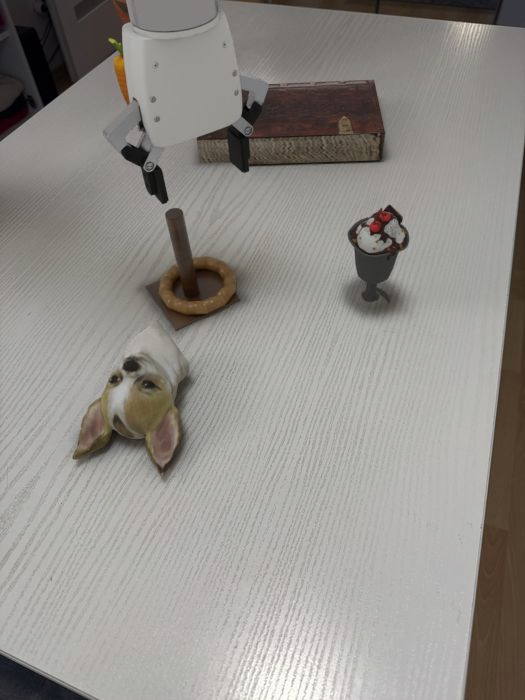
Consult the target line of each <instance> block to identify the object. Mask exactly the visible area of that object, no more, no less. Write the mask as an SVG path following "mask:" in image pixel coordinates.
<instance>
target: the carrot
mask: <svg viewBox="0 0 525 700" xmlns="http://www.w3.org/2000/svg"><path fill="white" fill-rule="evenodd" d="M108 42H109V43H110V44H111V45H113V47H114V48H115V49H116V51H117V52H118V53H119V55H117V56H115V57H114V59H113V69H114V72H115V76H116V80H117V82H118V86H119V88H120V92H121V94H122V96H123V99H124V101H125V103H126V106H128V105H129V104H130V101H129V95H128V88H127V82H126V74H125V66H124V57H123V44H122V42H119V43H118V41H117V40H116V39H115V38H114V39H113V38H111V37H109V38H108Z"/></svg>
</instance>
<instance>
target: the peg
mask: <svg viewBox="0 0 525 700" xmlns="http://www.w3.org/2000/svg"><path fill="white" fill-rule="evenodd" d="M164 217H165V221H166V225H167V229H168V233H169V237H170V238H169V239H170V242H171V246H172V251H173V254H174V258H175V264H176V263H177V267H178V271H179V277H178V279H177V280H176V281H175V282H174V283H173V288H172V291H173V293H174V294H175V296H176V297H177V298H180V299H183V300H185V301H203V300H206V299H208V298H210V297H212V296H214V295H216V294H217V293H218V292H219V291H220V289H221V288H222V287H223V278H222V277H221V276H220V275H219V273H217V272H214V271H211V270H208V269H201V270H195V266H194V262H193V257H194V256H193V252H192V247H191V242H190V238H189V234H188V229H187V228H188V227H187V224H186V219H185V214H184V210H183V209H181V208H179V207H173V208H170V209H168V210H166V212H165V213H164ZM160 280H161V279H159V280H157V281H155V282H152V283H150V284H148V285H145V290H146V291H147V293H148V294H149V296H150V297H151V298H152V300H153V302H154V303H155V304H156V306H157V307H158V308H159V310H160V311H161V313H162V314H163V316H164V317H165V319H166V320H167V322H168V323H169V324H170V326H171V327H172V329H173V330H174V331H175V332H178V331H179V330H182V329H184V328H186V327H188V326H191V325H192V324H195V323H196V322H199V321H200V320H203V319H205V318H207V317H209V316H211V315H213V314H215V313H218V312H220V311H222V310H224V309H226V308H228V307H230V306H232V305H235V304H237V303H239V302H241V297H239V296H238V294H237V293H236V292H235V293H234V294H233V295H232V297H231V298H230V299H229V300H228V302H227V303H226V304H225V305H224V306H222V307H220V308H218V309H216V310H214V311H211V312H209V313H207V314H194V315H185V314H182V313H180V312H177V311H174V310H172V309H169V308H168V307H167V305H166V304H165V303H164V301H163V300H162V298H161V297H160V295H159V287H160Z"/></svg>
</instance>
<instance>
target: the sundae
mask: <svg viewBox="0 0 525 700" xmlns="http://www.w3.org/2000/svg"><path fill="white" fill-rule="evenodd" d="M403 221H404V217H403V215H402V214H401V213H400V212H399V211H398V210H397V209H395V207H394V206H393V205H391V204H388V205H386V207H385V208H384V209H383V208H382V207H380V208H379V210H377V211H375V212H374V213H372V214H370V216H368V217H364V218H361V219H360V220H357V221H356V222H355V223H354V224H353V225H352V226H351V227H350V228H349V229H348V231H347V240H348V241H349V243H350V245H351V246H352V247H353V251H354V264H355V269H356V274H357V276H358V277H359V279H360V280H361V281H363V282H364V283H366V288H365V290H364V291H362V292H361V294H360V295H361V298H362V300H364V301H365V302H367V303H373V302H376V301H378V300H379V299H380V296H381V297H382V298H383V299H384V300H385V301H386V302H388V303H389V304H391V298H390V296H389V294H388V293H387V292H386V291H385V290H383V289H382V288H380V287H378V284H381V283H383V282H385V281H388V279H389V278H390V277H391V274H392V272H393V270H394V268H395V265H396V261H397V259H398V256H399V253H400V252H403V251H405V250H406V249H407V248H408V246H409V244H410V233H409V231H408V229H407V227H405V225H404V224H402V223H403Z"/></svg>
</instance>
